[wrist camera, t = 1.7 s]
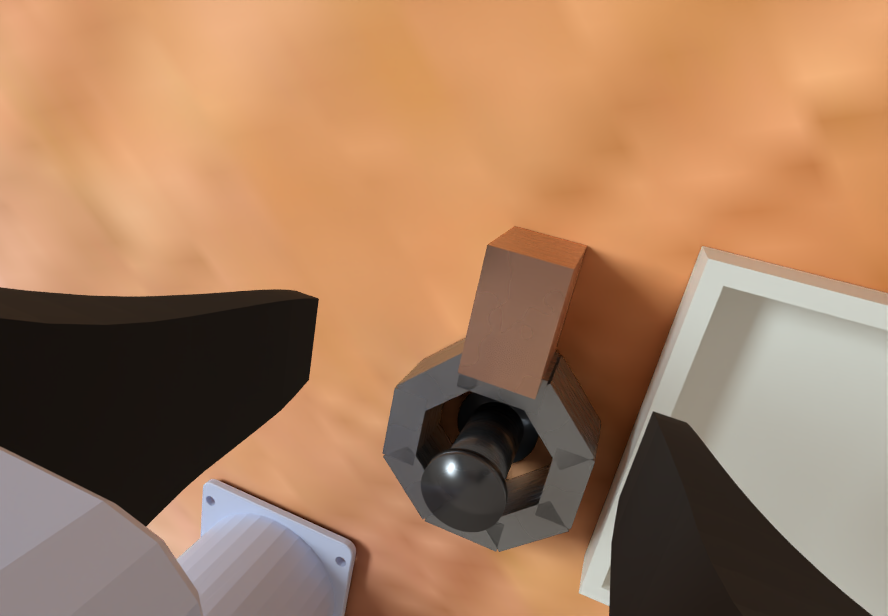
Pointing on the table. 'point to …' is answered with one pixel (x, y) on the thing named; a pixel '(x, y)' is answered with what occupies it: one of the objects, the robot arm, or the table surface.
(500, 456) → the knob
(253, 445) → the table surface
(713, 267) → the tray
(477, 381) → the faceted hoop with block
